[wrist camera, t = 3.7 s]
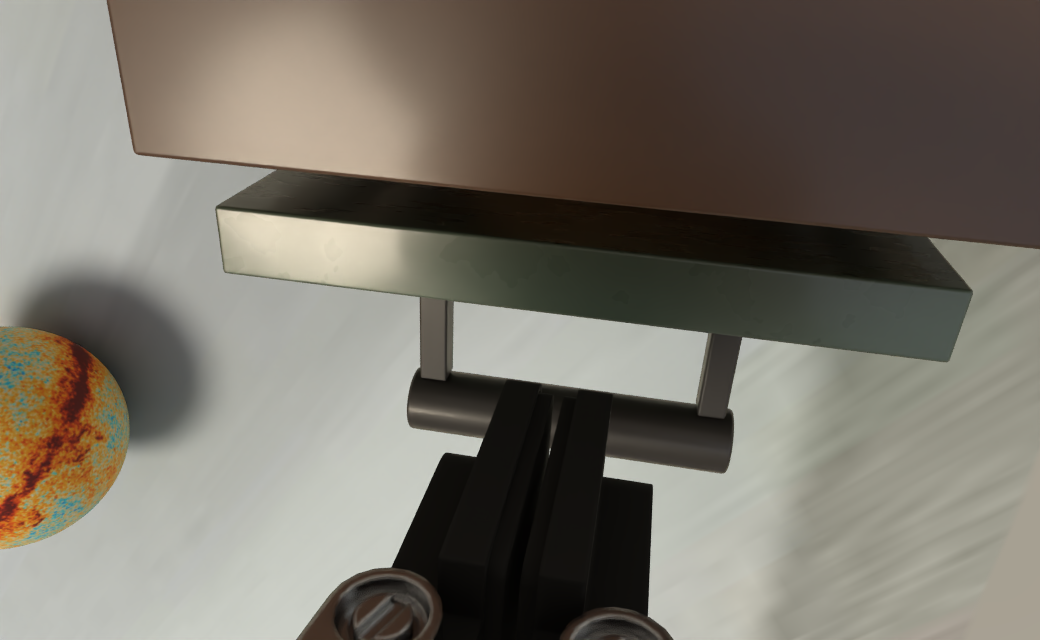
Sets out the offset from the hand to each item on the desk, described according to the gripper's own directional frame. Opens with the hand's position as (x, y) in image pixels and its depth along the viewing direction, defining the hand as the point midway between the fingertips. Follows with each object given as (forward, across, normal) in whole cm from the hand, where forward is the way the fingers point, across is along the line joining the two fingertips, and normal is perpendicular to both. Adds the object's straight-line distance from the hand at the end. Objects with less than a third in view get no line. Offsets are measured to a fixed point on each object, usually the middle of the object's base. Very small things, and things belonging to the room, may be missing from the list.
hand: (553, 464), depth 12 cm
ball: (+11, +18, +8) cm, 23 cm away
